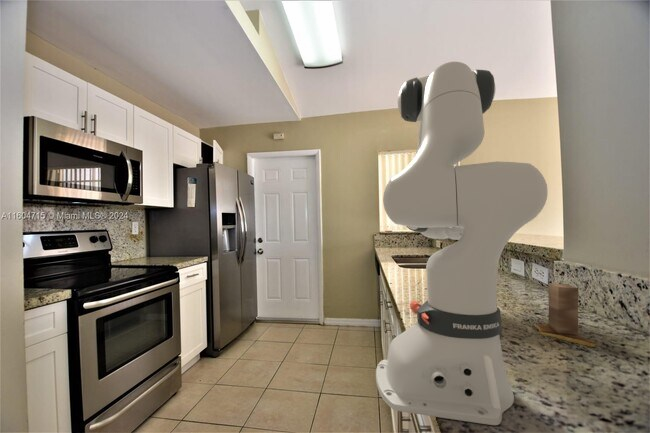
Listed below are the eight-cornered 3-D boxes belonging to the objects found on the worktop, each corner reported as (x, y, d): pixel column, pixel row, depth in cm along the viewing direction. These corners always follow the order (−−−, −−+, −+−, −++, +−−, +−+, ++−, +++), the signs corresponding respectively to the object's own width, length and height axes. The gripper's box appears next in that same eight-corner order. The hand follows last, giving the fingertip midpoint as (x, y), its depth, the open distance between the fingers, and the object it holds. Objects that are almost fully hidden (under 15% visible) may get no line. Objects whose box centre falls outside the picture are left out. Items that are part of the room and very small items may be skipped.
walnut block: (558, 332, 64) (558, 287, 64) (548, 326, 67) (548, 283, 67) (578, 334, 63) (578, 288, 63) (567, 328, 66) (567, 284, 66)
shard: (597, 350, 58) (597, 342, 58) (558, 349, 60) (558, 341, 60) (562, 331, 69) (561, 324, 69) (529, 330, 70) (529, 323, 70)
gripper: (440, 217, 84) (483, 215, 72) (479, 217, 94) (524, 215, 81) (441, 237, 84) (485, 238, 72) (480, 235, 93) (525, 235, 81)
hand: (506, 226), depth 77 cm, fingers open, 8 cm apart
